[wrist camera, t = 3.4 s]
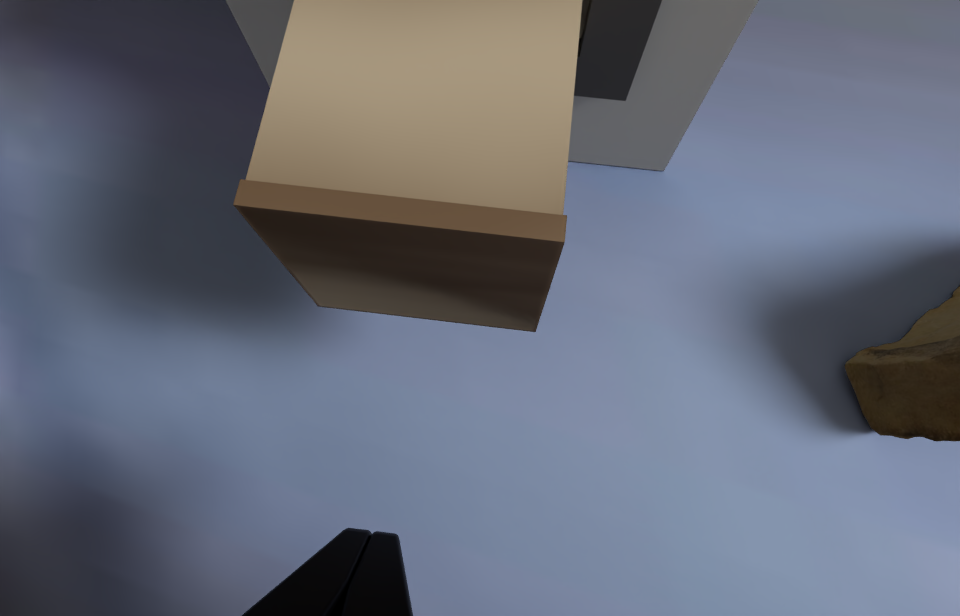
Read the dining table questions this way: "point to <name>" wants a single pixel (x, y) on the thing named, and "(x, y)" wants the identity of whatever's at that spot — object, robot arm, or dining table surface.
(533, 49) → the peg
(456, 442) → the dining table surface
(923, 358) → the rock
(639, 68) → the off-white upright box
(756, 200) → the dining table surface
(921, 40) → the dining table surface
